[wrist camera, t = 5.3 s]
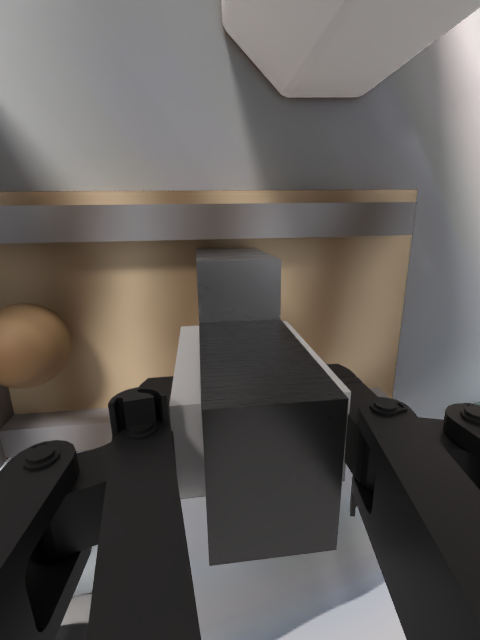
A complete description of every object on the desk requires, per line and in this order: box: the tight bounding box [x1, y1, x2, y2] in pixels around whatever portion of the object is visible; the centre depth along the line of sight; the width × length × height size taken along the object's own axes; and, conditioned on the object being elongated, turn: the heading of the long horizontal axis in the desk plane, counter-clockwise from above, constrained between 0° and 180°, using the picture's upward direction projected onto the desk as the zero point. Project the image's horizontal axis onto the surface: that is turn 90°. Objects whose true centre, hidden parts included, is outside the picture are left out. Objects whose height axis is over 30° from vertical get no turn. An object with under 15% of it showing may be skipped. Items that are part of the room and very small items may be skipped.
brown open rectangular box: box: [0, 190, 417, 467], centre depth 17 cm, size 26×14×9 cm, turn 91°
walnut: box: [0, 303, 72, 389], centre depth 16 cm, size 4×4×4 cm
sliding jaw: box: [196, 247, 349, 566], centre depth 13 cm, size 3×8×12 cm, turn 1°
